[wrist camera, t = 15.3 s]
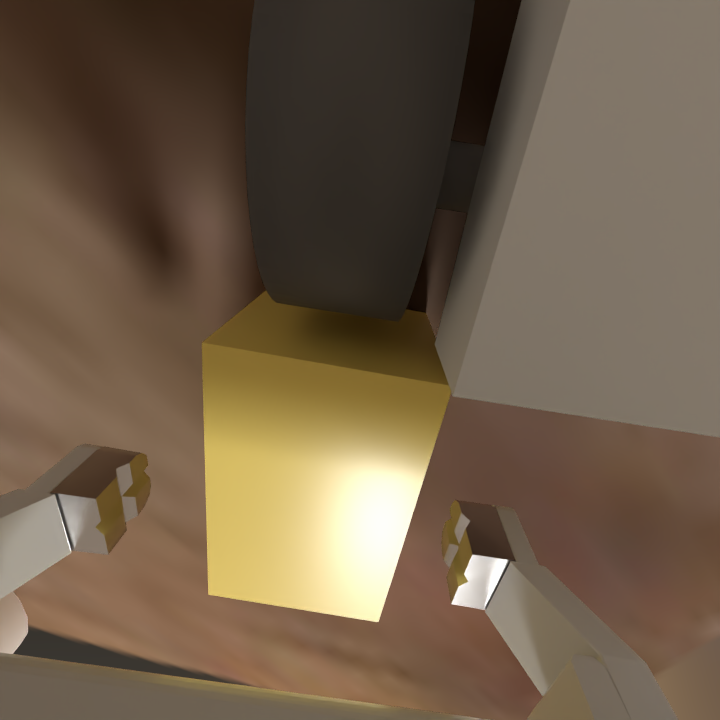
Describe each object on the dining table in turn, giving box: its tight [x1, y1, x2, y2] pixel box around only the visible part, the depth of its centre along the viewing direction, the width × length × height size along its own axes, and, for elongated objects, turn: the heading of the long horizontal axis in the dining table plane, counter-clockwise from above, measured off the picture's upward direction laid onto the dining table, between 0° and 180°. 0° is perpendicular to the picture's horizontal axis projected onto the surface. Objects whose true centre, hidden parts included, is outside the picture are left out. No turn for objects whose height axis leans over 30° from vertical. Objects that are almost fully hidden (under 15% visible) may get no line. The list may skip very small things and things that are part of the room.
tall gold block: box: [202, 291, 451, 622], centre depth 11 cm, size 5×8×5 cm, turn 171°
